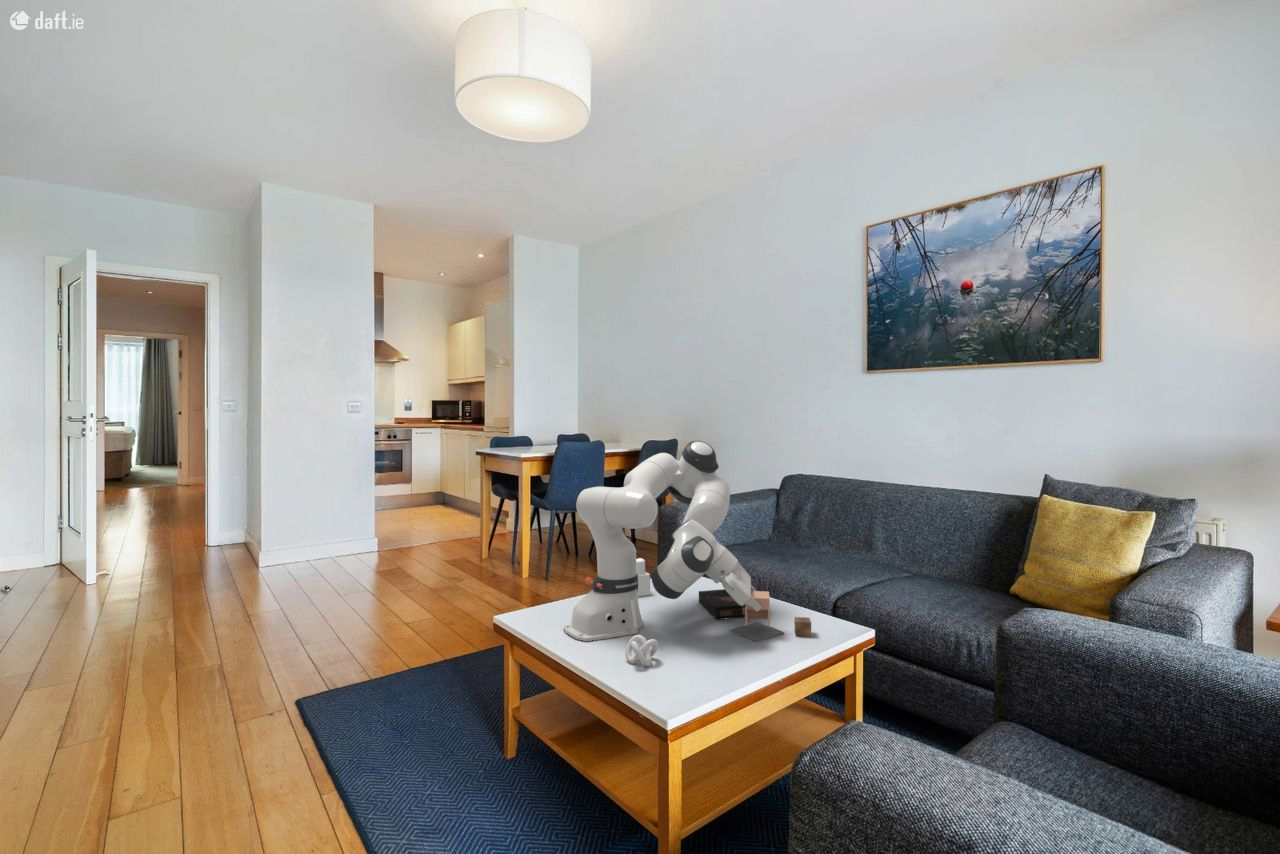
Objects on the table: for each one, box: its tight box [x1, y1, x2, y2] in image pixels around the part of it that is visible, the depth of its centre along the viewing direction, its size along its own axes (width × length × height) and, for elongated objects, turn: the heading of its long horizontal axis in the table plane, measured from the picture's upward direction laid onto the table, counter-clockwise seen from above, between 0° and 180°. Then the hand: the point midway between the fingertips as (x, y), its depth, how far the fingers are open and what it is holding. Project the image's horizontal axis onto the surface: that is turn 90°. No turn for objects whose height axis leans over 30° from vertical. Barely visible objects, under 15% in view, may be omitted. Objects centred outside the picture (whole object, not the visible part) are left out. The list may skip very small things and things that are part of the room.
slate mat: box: [730, 621, 785, 643], centre depth 165 cm, size 10×10×1 cm
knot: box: [625, 634, 659, 668], centre depth 146 cm, size 8×8×6 cm
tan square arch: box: [744, 590, 771, 627], centre depth 165 cm, size 6×6×8 cm
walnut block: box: [793, 616, 812, 638], centre depth 163 cm, size 4×4×4 cm
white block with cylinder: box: [636, 556, 651, 598], centre depth 202 cm, size 7×7×12 cm
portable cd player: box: [698, 588, 745, 620], centre depth 185 cm, size 16×17×4 cm
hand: (759, 604), depth 165 cm, fingers closed on tan square arch, 6 cm apart
